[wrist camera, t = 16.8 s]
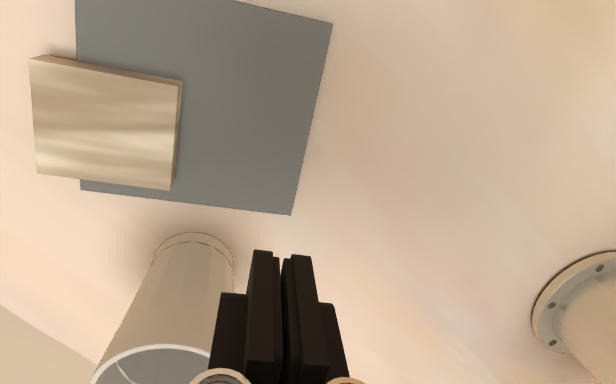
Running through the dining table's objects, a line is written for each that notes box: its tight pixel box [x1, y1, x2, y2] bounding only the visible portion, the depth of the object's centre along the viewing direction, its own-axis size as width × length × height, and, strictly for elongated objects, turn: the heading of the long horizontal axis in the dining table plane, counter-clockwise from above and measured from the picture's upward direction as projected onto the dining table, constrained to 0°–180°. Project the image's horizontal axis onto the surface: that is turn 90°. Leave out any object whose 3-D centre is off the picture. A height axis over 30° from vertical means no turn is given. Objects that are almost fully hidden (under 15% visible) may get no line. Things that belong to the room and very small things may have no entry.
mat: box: [75, 0, 333, 216], centre depth 26 cm, size 15×14×1 cm
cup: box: [89, 232, 234, 384], centre depth 27 cm, size 8×8×12 cm
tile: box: [29, 55, 183, 191], centre depth 25 cm, size 2×8×7 cm
